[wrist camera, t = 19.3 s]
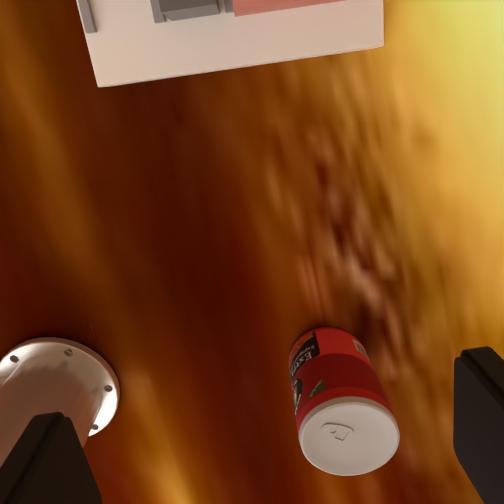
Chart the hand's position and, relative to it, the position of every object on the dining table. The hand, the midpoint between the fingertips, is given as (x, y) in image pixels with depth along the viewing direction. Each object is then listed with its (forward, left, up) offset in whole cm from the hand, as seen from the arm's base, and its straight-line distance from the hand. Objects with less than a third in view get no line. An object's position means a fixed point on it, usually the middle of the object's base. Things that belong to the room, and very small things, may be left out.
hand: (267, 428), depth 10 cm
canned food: (+5, -19, -28) cm, 35 cm away
